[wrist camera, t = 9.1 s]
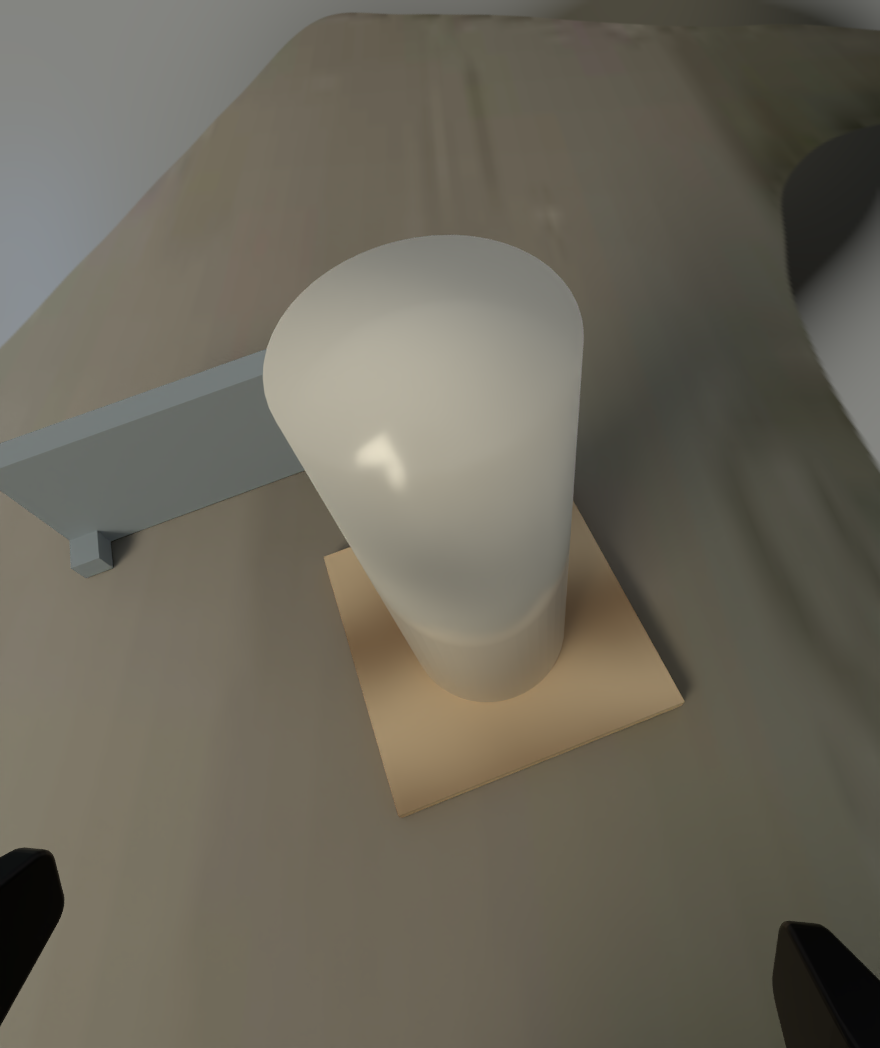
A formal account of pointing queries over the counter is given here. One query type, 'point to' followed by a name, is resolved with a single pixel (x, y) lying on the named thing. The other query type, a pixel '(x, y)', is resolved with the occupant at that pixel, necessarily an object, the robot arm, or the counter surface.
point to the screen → (148, 459)
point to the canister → (444, 444)
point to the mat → (514, 724)
